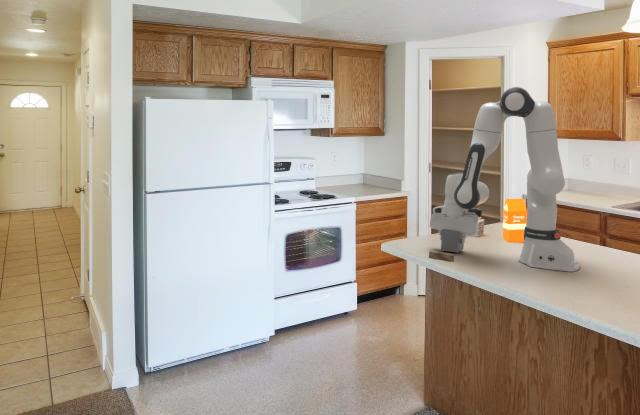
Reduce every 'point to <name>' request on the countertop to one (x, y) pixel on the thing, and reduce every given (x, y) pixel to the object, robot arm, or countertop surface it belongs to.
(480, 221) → the container
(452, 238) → the matte gray box
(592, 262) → the countertop surface
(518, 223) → the orange juice
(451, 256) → the bar
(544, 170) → the robot arm
